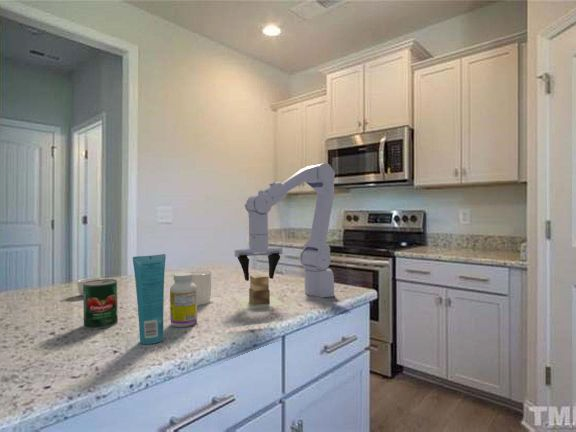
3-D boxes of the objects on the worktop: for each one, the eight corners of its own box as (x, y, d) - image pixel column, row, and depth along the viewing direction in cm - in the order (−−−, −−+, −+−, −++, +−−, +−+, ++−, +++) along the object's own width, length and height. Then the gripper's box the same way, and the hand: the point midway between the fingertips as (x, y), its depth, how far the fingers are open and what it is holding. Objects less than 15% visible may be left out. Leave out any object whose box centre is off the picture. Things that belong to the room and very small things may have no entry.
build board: (272, 299, 121) (272, 296, 121) (284, 308, 109) (284, 304, 109) (235, 302, 116) (235, 299, 116) (244, 312, 105) (244, 309, 105)
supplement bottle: (175, 320, 99) (174, 271, 99) (200, 320, 99) (199, 271, 98) (166, 328, 92) (165, 276, 92) (193, 328, 92) (192, 276, 92)
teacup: (91, 298, 125) (91, 282, 125) (72, 297, 127) (71, 281, 127) (111, 291, 135) (111, 277, 135) (93, 291, 137) (93, 276, 136)
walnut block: (264, 299, 116) (264, 286, 116) (269, 303, 111) (269, 290, 111) (249, 301, 114) (249, 288, 114) (253, 305, 110) (253, 291, 110)
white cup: (205, 309, 110) (205, 275, 110) (181, 307, 111) (180, 274, 111) (216, 302, 117) (215, 270, 117) (192, 301, 119) (192, 270, 119)
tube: (160, 334, 88) (159, 252, 87) (172, 338, 84) (170, 254, 84) (130, 343, 82) (128, 256, 82) (141, 348, 79) (139, 257, 78)
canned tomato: (94, 331, 90) (94, 286, 90) (77, 326, 95) (76, 283, 94) (124, 322, 97) (123, 280, 97) (106, 318, 101) (105, 278, 101)
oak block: (264, 287, 116) (264, 274, 116) (268, 289, 112) (268, 276, 112) (250, 288, 114) (250, 275, 114) (254, 291, 110) (254, 277, 110)
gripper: (276, 232, 119) (277, 275, 119) (232, 234, 114) (232, 278, 114) (284, 234, 112) (285, 279, 112) (237, 235, 107) (237, 282, 107)
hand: (259, 279), depth 113 cm, fingers open, 7 cm apart
